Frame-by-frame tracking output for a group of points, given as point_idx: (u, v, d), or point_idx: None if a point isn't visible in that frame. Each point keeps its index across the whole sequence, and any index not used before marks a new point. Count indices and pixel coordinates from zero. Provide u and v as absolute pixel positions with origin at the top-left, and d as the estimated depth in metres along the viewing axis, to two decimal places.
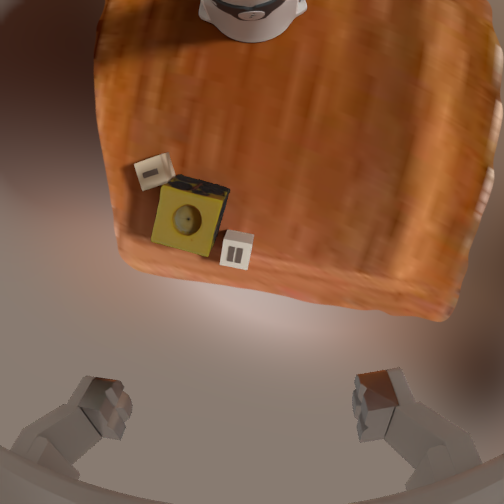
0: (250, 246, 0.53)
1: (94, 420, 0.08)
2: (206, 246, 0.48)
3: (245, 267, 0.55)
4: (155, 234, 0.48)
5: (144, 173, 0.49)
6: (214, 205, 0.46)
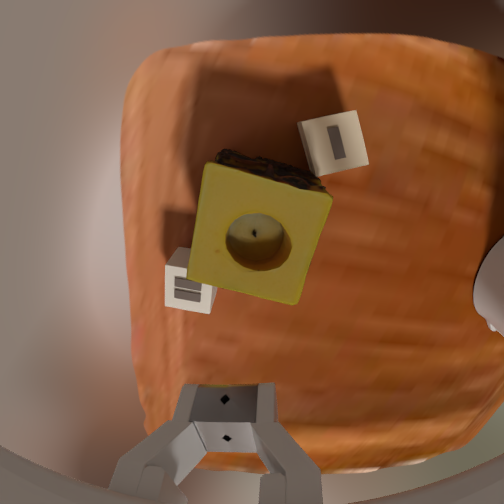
0: (205, 311, 0.32)
1: (206, 434, 0.08)
2: (206, 278, 0.25)
3: (168, 303, 0.32)
4: (223, 174, 0.22)
5: (337, 131, 0.24)
6: (288, 293, 0.25)
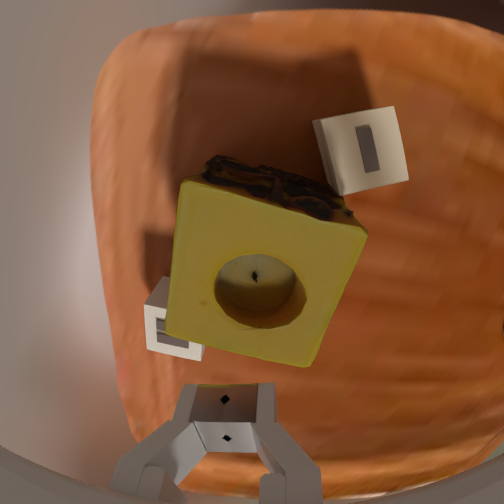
0: (195, 358, 0.25)
1: (206, 434, 0.08)
2: (190, 335, 0.18)
3: (151, 347, 0.25)
4: (207, 198, 0.15)
5: (369, 133, 0.17)
6: (300, 355, 0.18)
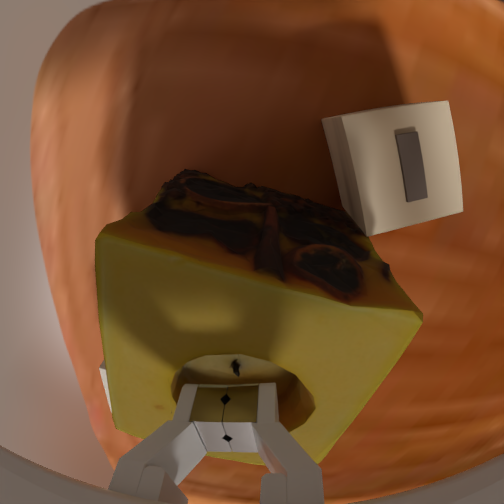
0: None
1: (206, 434, 0.08)
2: None
3: None
4: (141, 267, 0.08)
5: (415, 141, 0.10)
6: None
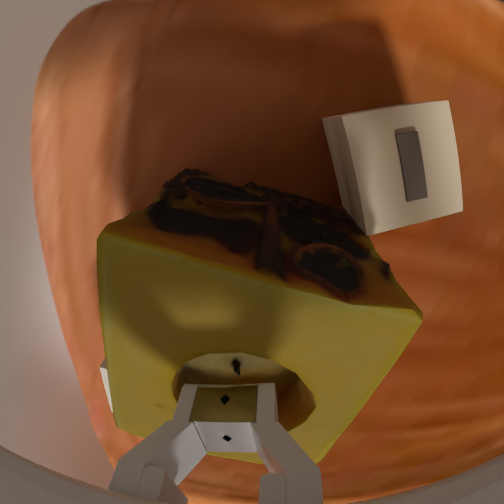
0: None
1: (206, 434, 0.08)
2: None
3: None
4: (143, 266, 0.08)
5: (415, 141, 0.10)
6: None
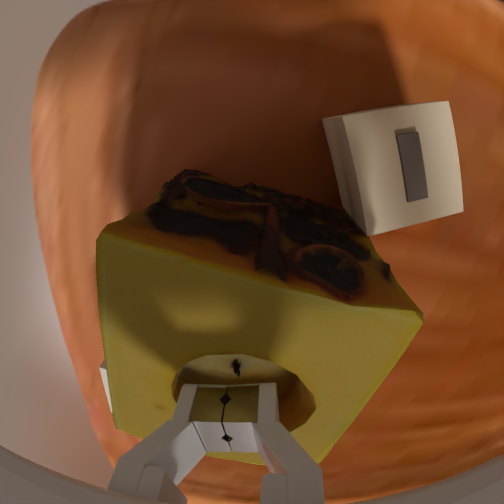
0: None
1: (206, 434, 0.08)
2: None
3: None
4: (142, 267, 0.08)
5: (415, 141, 0.10)
6: None
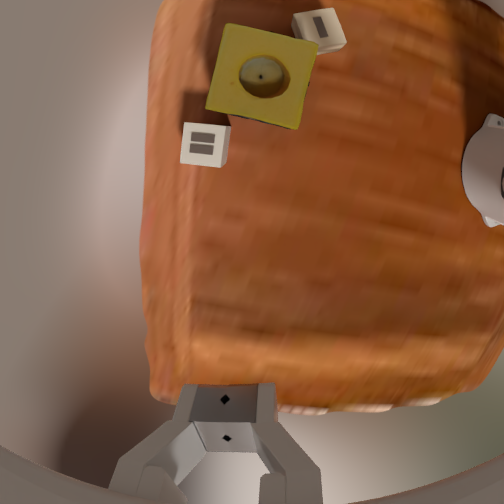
0: (216, 164, 0.35)
1: (206, 434, 0.08)
2: (222, 106, 0.28)
3: (183, 160, 0.35)
4: (238, 29, 0.25)
5: (320, 19, 0.27)
6: (290, 117, 0.28)
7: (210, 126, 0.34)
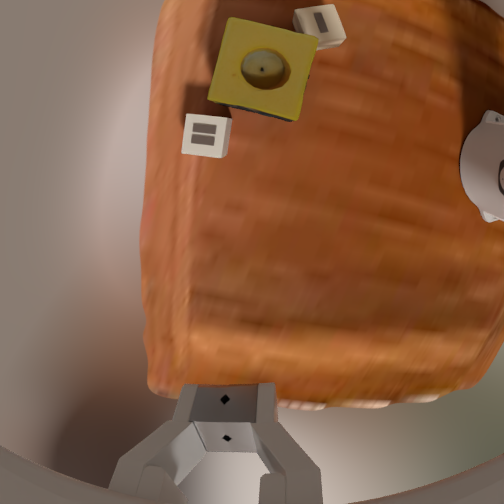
0: (217, 155, 0.36)
1: (206, 434, 0.08)
2: (224, 97, 0.28)
3: (185, 150, 0.36)
4: (240, 23, 0.25)
5: (320, 15, 0.28)
6: (290, 108, 0.29)
7: (212, 117, 0.34)
